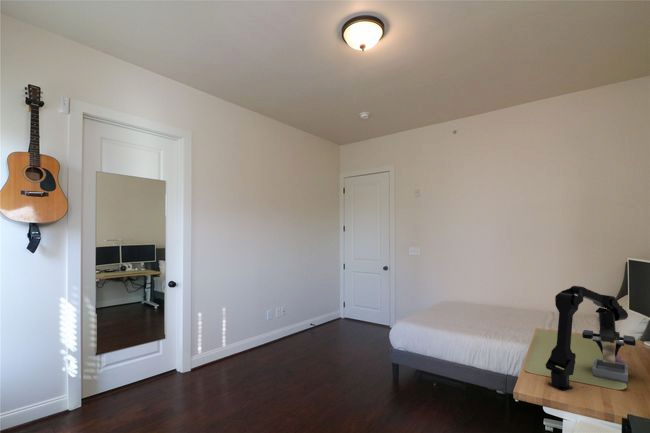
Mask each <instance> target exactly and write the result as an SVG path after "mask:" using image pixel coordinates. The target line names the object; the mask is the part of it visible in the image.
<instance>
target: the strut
mask: <svg viewBox="0 0 650 433" xmlns="http://www.w3.org/2000/svg"><path fill="white" fill-rule="evenodd" d="M615 347H616V344H611V343H610V344H609V343H603V355H602V360H603V362H608V363H613V364H615Z"/></svg>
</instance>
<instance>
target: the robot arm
mask: <svg viewBox="0 0 650 433" xmlns="http://www.w3.org/2000/svg"><path fill="white" fill-rule="evenodd" d="M554 299H555V300H554V302H555V303H554V304H555V307H556V309H557V312H558V321H557V322H558V323H557V334H556V335H557V336H556V345H555V346H554V347H553V348H552V350H551V352H550V356H549V358H548V360H547V361H546V363H545V368H546V370H549V371H550V377H551V378H550V379H551V380H550V381H551V382H548V385H549V386H551V387H552V388H556V389H558V390H560V391H567V390H571V389H573V388H574V386H572V385H570V376H573V375H574V370H575V364H576V356H577V355H576V352H575V353H574V352H573V351H572V349H571V346H572V345H571V344H572V334H573V333H572V332H573V320H574V319H573V317H574V314H575V313H577V311H579V306H580V304H582V303H583V302H584V299H587V300H589V301H591V302H592V304H594V305H595V306H597V307H598V308H597V309H596V310H595V313H597V314H598V322H599V330H598V332H599V333H596V332H594V330H590V329H589V330H588V329H583V331H582V335H581V336H582V338H583V339H587V340H592V342H595V343H596V345H597V346H598V349H599V350H600V353H601V354H602V356H603V346H604V344H603V342H607V343H610V344H613V343H615V357H616V356H617V354H618V355H619V350H620V349H621V347H625V346H626V345H627V346H632V347H633V346H634V347H636V346H637V344H636V337H635V336H634V335H633V336H632V335H623V337H622V336H620V335H621V334H620V332H619V331H617V330H616V322H619V321H623V320H627V319H628V317H629V313H628V312H627V310H626V309H624V308H623V307H624V306H623V305H620V303H619V302H618V300H617V299H616V297H615V296H613V295H607V294H602V293H601V294H600V293H598V292H596V291H593V290H591V289H589V288H587V287H585V286H580V285H572V286H571V287H570V288H566V289H563V290H560V292H558V293H557V294H556V295H555V296H554Z"/></svg>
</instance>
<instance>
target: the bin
mask: <svg viewBox="0 0 650 433" xmlns="http://www.w3.org/2000/svg"><path fill="white" fill-rule="evenodd" d="M592 377H596V378H601V379H605V380H611V381H615V382H619V381H620V383H625V384H629V365H628V363H626V364H623V363H618V362H615V364H613V363H608V362H603V359H600V358H594V360H593V364H592Z"/></svg>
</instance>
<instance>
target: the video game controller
mask: <svg viewBox="0 0 650 433" xmlns="http://www.w3.org/2000/svg"><path fill="white" fill-rule="evenodd" d="M615 362H618V363H623V364H627V363H626V362H625V361H624V360H623V359H622V357H621V356H620V355H619V353H618V354H617V356H616V357H615Z"/></svg>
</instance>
